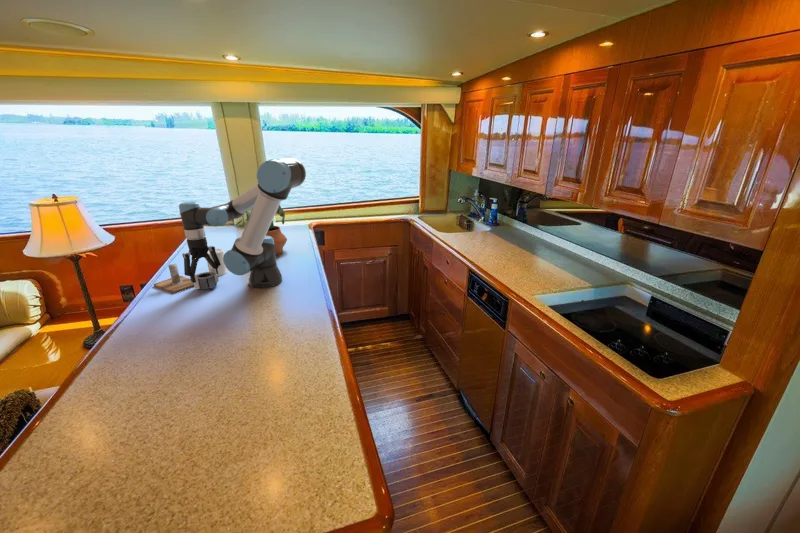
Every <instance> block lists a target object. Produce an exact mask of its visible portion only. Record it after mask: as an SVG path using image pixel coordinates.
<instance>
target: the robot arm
mask: <svg viewBox="0 0 800 533" xmlns="http://www.w3.org/2000/svg"><path fill="white" fill-rule="evenodd" d="M305 168H306V167H305V166H304V165H303V163H301V161H300V160H297V159H296V158H292V157H287V158H285V157H284V158H272V159H269V160H266V161H263V162H262V163H261V164H260V165H259V167H258V168H257V170H256V179H257V183H258V184H256V185H254V186H253V187H250V188H249V189H248V190H246V191H245V192H243V193H241V194H239V195H238V196H236V197H235V198H234V199H232V200H230V201H228V202H227V203H223V204H220V205H215V206H212V207H200V204H199V202H197V201H186V202H181V203H180V204H179V205H178V210H179V216H180V218H181V222H182V223H181V224H182V226H183V231H184V236H185V238H186V243H187V244H186V245H187V247H188V251H187V252H186V253H184V252H183V253H182V257H183V268H184V269H183V270H184V275H185V276H187V277H189V279H191V282H193V283H194V287H193V288H194V289H197V290H201V289H200V286H199V282H198V278H197V274H196V271H197V267H198V262H199V260H200V259H201V258H204V259H205V260H206V262H207V261H208V263H209V264H210V265H211V266H212V267H213V268H211V272H213V273H215V274H216V278H217V283H218V282H219V278H218V277H219V276H217V274H218V270H217V269H218V266H220V265H221V264H220V261H219V259H218V257H217V254H216V252H215V249H216V247H215V246H213V245H210V246H209V245H208V241H207V237H206V231H205V228H204V226H210V227H223V226H225V225H226V224H227V223H228V222H229V221H232V220H235V219H237V220H238V219H240V218H241V217H243V216H244V215H245V214H246V212H247V211H248V212H249V211H250V213H251V214H250V216H249V219H248V221H246V224H245V225H244V228H243V231H242V233H241V237H237V238H236V239H235V241H234V242H233V245H232V248H230V250H226V252H224V256H223V261H224V264H225V266H226V269H227V271H229V272H230V273H232V274H233V275H236V276H243V275H246V274H248V273H249V278H248V283H249V286H251V287H253V288H259V289H260V288H262V289H263V288H265V289H266V288H270V287H275V286H276V285H277V286H278V284H281V283H282V281H283V276H282V273H281V271H280V269H279V267H278V264H277V255H276V254H275V244H274V239H273V238H272V237H271V236H266V234H267V231H268V229H269V227H270V225H271V223H272V220H274V218H275V216H276V213H277V209H278V207H279V205H280V204H281V202H283V201H286V200H287V199H288V197H289V195H290V192H291V190H292V189H294V188H297V187H299V186H301V185H302V184H303V183H304V182H305V180H306V175H307V174H306V173H307V172H306V169H305ZM280 206H281V205H280ZM251 210H252V211H251ZM208 250H209V251H210V254H211V256H212V258H213V260H212V259H211V258H210V256H209V254H208V253H207V252H208Z"/></svg>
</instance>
